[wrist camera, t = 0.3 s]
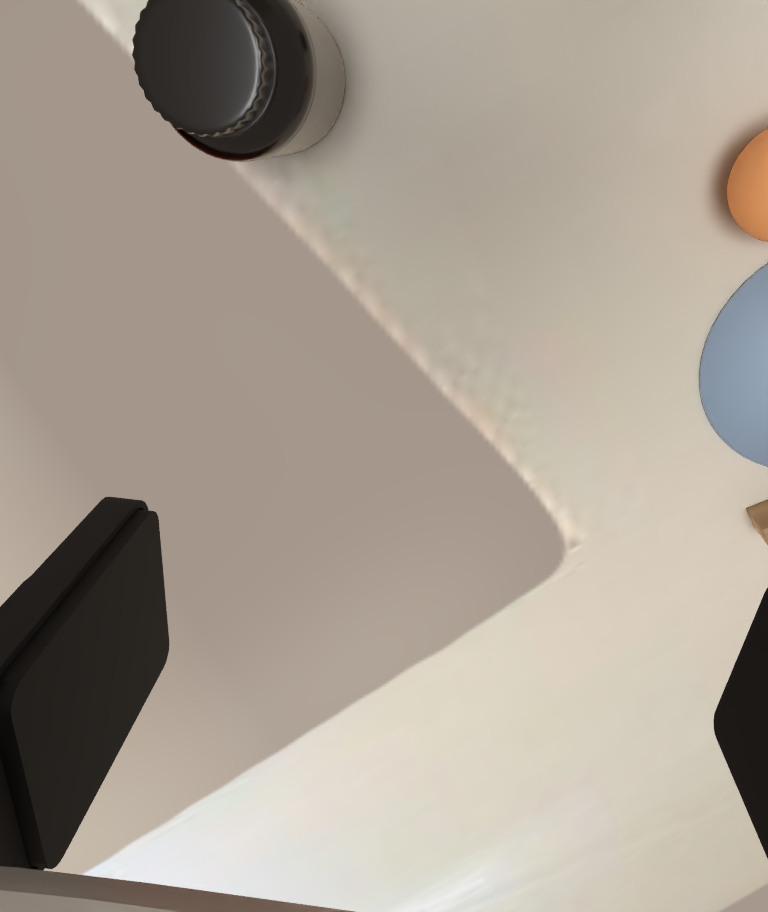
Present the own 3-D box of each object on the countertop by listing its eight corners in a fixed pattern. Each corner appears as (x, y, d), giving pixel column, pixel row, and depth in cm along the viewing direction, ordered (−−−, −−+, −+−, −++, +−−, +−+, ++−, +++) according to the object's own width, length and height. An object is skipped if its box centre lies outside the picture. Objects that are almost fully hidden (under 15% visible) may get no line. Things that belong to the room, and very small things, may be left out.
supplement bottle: (325, -20, 32) (260, -90, 21) (362, 134, 35) (321, 140, 24) (193, 24, 33) (70, -22, 23) (239, 169, 36) (150, 189, 25)
